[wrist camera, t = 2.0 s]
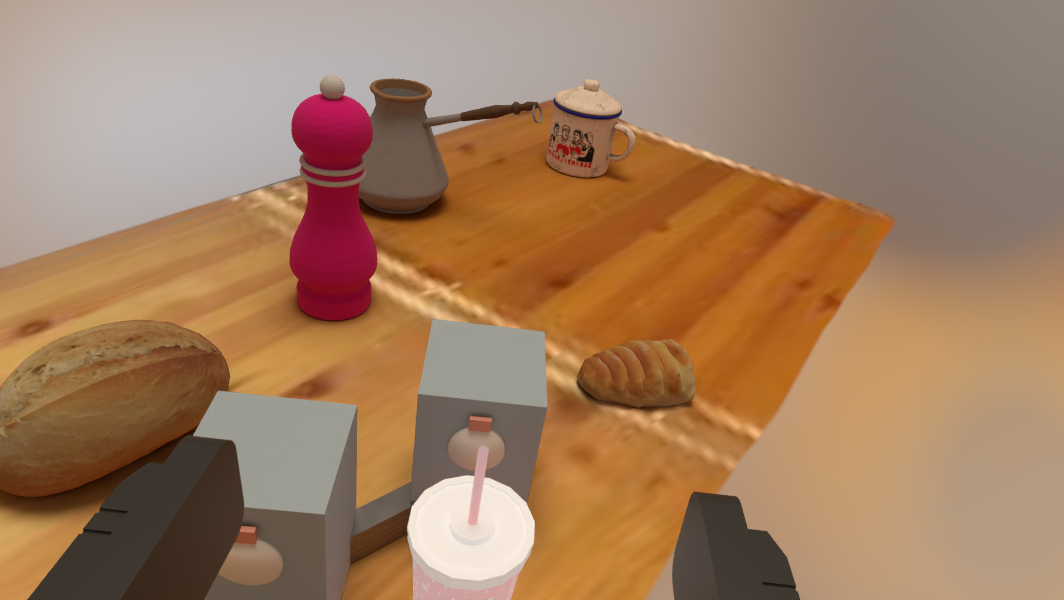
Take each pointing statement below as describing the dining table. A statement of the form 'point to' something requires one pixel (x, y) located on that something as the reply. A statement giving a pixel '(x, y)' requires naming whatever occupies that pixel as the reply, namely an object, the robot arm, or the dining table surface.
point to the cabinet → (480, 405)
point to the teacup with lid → (585, 131)
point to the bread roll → (102, 402)
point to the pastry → (640, 374)
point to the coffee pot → (411, 147)
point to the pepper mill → (333, 205)
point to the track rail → (380, 522)
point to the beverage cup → (469, 538)
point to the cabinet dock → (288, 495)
